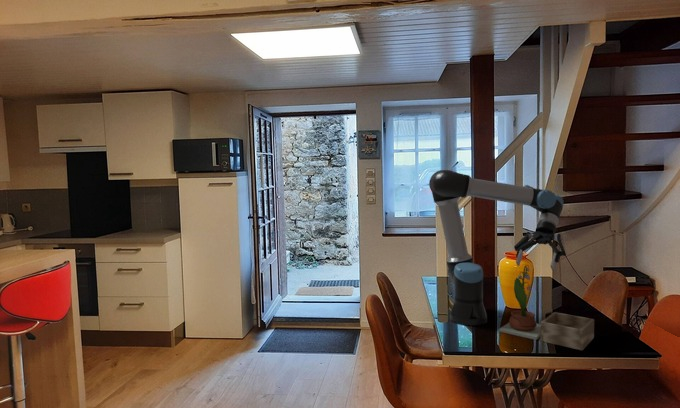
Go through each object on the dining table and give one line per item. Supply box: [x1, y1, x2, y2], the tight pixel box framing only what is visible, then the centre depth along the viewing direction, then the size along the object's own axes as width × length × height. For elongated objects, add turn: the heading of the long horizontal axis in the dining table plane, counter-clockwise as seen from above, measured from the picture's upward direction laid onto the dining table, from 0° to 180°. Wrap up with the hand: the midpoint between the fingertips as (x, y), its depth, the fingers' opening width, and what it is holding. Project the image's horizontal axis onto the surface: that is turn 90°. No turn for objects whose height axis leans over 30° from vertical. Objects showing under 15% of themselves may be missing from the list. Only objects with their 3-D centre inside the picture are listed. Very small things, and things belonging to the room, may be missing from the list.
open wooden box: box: [539, 311, 595, 351], centre depth 162 cm, size 14×16×7 cm
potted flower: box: [508, 264, 537, 331], centre depth 173 cm, size 12×10×25 cm
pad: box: [498, 322, 541, 341], centre depth 173 cm, size 14×16×1 cm
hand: (534, 265), depth 179 cm, fingers open, 13 cm apart
